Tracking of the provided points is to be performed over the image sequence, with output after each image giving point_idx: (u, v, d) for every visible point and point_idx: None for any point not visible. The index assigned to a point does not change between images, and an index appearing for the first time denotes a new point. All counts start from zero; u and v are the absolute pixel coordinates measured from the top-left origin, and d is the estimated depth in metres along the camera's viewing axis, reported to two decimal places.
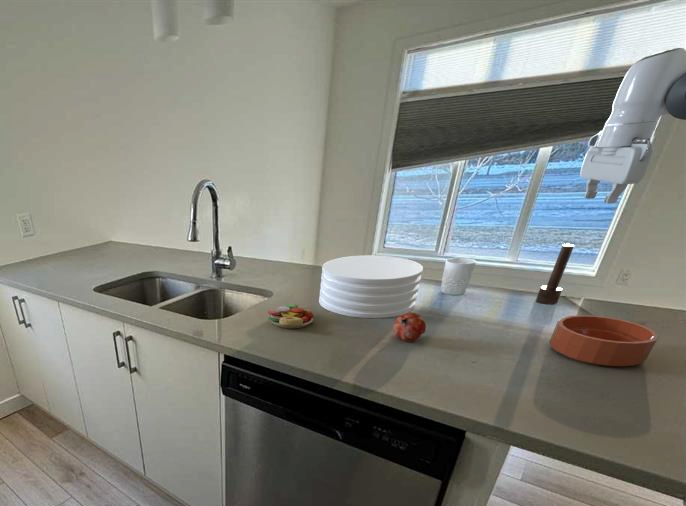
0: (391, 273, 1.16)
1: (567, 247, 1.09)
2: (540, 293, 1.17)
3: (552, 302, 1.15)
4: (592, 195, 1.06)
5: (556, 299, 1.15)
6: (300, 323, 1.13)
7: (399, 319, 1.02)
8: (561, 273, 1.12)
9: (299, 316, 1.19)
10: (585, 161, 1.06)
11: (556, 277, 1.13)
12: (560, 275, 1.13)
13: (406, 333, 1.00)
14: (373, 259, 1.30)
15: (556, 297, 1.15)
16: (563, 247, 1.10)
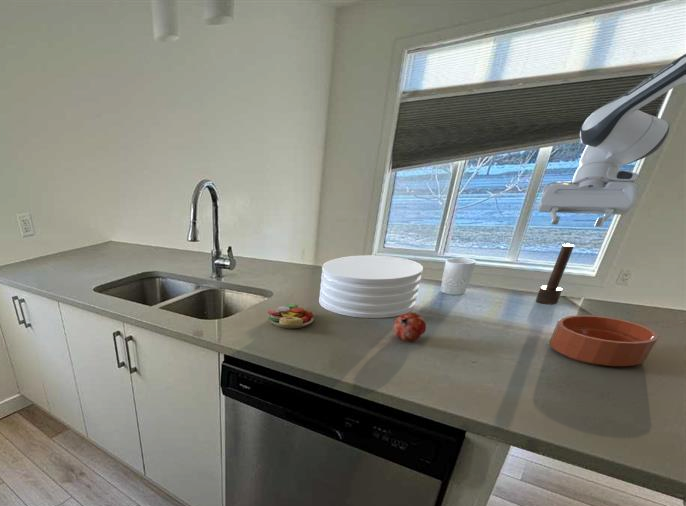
0: (391, 273, 1.16)
1: (567, 247, 1.09)
2: (540, 293, 1.17)
3: (552, 302, 1.15)
4: (596, 222, 1.13)
5: (556, 299, 1.15)
6: (300, 323, 1.13)
7: (399, 319, 1.02)
8: (561, 273, 1.12)
9: (299, 316, 1.19)
10: None
11: (556, 277, 1.13)
12: (560, 275, 1.13)
13: (406, 333, 1.00)
14: (373, 259, 1.30)
15: (556, 297, 1.15)
16: (563, 247, 1.10)
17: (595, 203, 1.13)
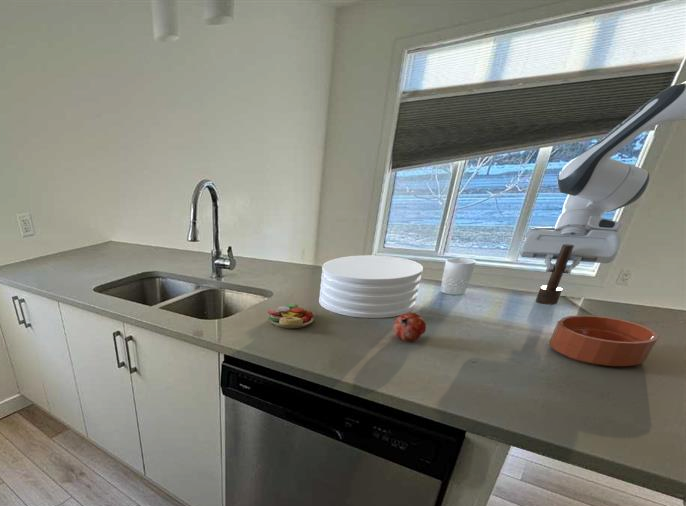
0: (391, 273, 1.16)
1: (567, 247, 1.09)
2: (540, 293, 1.17)
3: (552, 302, 1.15)
4: None
5: (556, 299, 1.15)
6: (300, 323, 1.13)
7: (399, 319, 1.02)
8: (561, 273, 1.12)
9: (299, 316, 1.19)
10: None
11: (556, 277, 1.13)
12: (560, 275, 1.13)
13: (406, 333, 1.00)
14: (373, 259, 1.30)
15: (556, 297, 1.15)
16: (563, 247, 1.10)
17: (577, 251, 1.10)
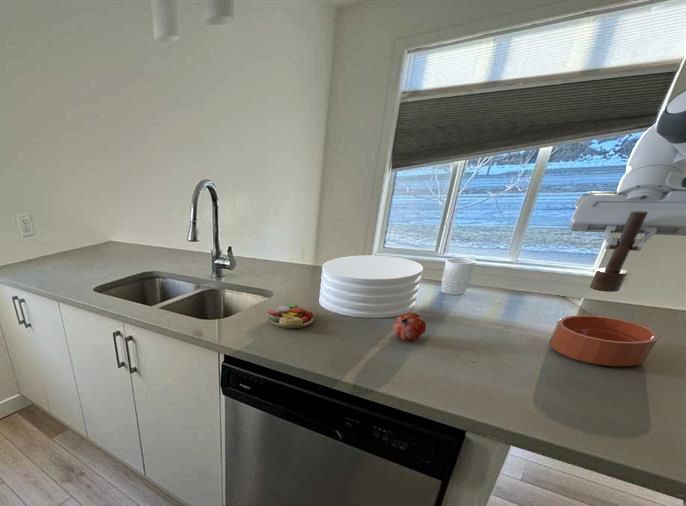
0: (391, 273, 1.16)
1: (638, 214, 0.82)
2: (597, 277, 0.89)
3: (613, 289, 0.88)
4: (632, 245, 0.85)
5: (619, 285, 0.88)
6: (300, 323, 1.13)
7: (399, 319, 1.02)
8: (627, 250, 0.85)
9: (299, 316, 1.19)
10: None
11: (620, 255, 0.86)
12: (626, 253, 0.85)
13: (406, 333, 1.00)
14: (373, 259, 1.30)
15: (620, 282, 0.87)
16: (632, 215, 0.83)
17: (650, 221, 0.83)
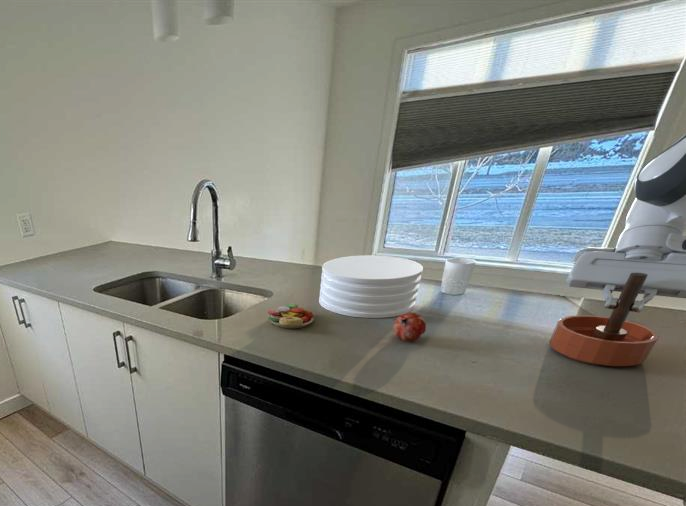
0: (391, 273, 1.16)
1: (638, 277, 0.80)
2: (596, 336, 0.87)
3: None
4: (632, 306, 0.83)
5: None
6: (300, 323, 1.13)
7: (399, 319, 1.02)
8: (627, 311, 0.83)
9: (299, 316, 1.19)
10: None
11: (620, 316, 0.84)
12: (626, 314, 0.83)
13: (406, 333, 1.00)
14: (373, 259, 1.30)
15: None
16: (632, 277, 0.80)
17: (650, 282, 0.81)
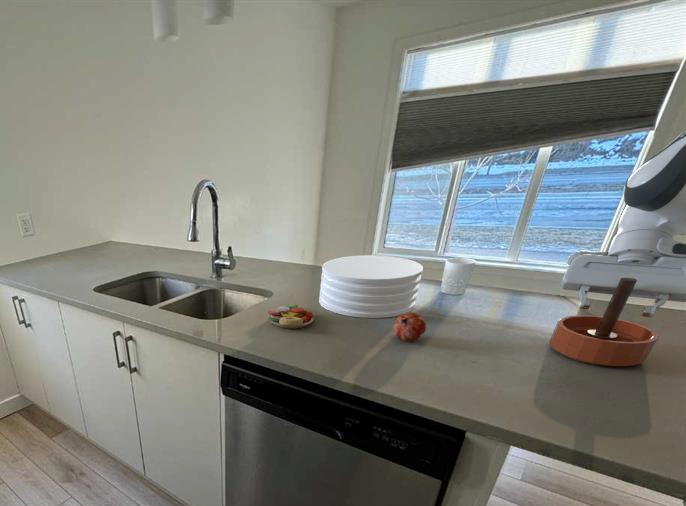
0: (391, 273, 1.16)
1: (628, 282, 0.82)
2: None
3: None
4: (643, 311, 0.83)
5: None
6: (300, 323, 1.13)
7: (399, 319, 1.02)
8: (617, 315, 0.85)
9: (299, 316, 1.19)
10: None
11: (610, 320, 0.86)
12: (616, 318, 0.85)
13: (406, 333, 1.00)
14: (373, 259, 1.30)
15: None
16: (622, 282, 0.82)
17: (641, 286, 0.83)
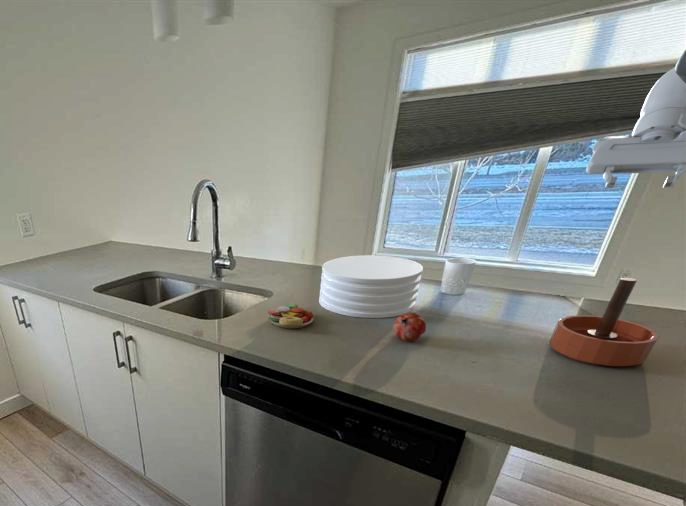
0: (391, 273, 1.16)
1: (628, 282, 0.82)
2: None
3: None
4: (665, 182, 0.90)
5: None
6: (300, 323, 1.13)
7: (399, 319, 1.02)
8: (617, 315, 0.85)
9: (299, 316, 1.19)
10: None
11: (610, 320, 0.86)
12: (616, 318, 0.85)
13: (406, 333, 1.00)
14: (373, 259, 1.30)
15: None
16: (622, 282, 0.82)
17: (664, 159, 0.90)
